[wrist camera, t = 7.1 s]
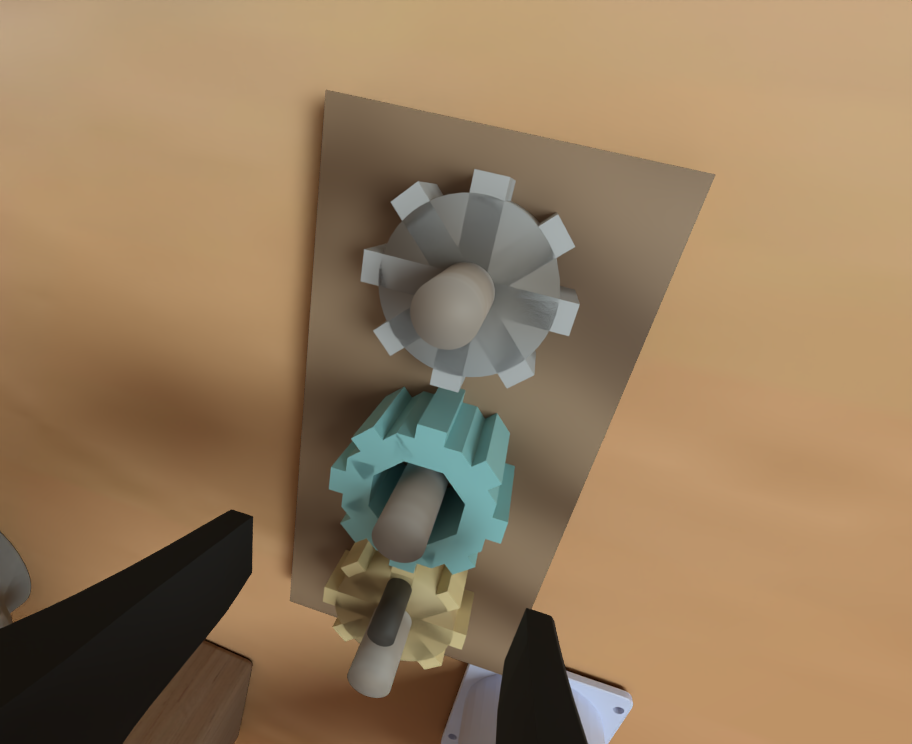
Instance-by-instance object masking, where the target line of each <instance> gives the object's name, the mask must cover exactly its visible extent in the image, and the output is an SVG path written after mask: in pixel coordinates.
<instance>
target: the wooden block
mask: <svg viewBox="0 0 912 744" xmlns="http://www.w3.org/2000/svg"><path fill="white" fill-rule="evenodd" d="M252 665H253V664H252V663H251V662H250V661H249V660H248V659H245V658H243V657H241V656H239V655H236V654H234V653H232V652H230V651H227V650H225V649H223V648H221V647H218V646H216V645H214V644H212V643H209V642H207V641H205V640H204V641H203V642H202V643H201V644H200V646H199V647H198V648H197V649H196V651H195V652H194V653H193V654H192V655H191V657H190V658H189V659H188V660H187V662H186V663H185V664H184V665H183V666H182V668H181V669H180V670H179V671H178V673H177V674H176V675H175V676H174V678H173V679H172V680H171V681H170V682H169V684H168V685H167V686H166V687H165V689H164V690H163V691H162V692H161V694H160V695H159V696H158V697H157V698H156V700H155V701H154V702H153V703H152V705H151V706H150V707H149V708H148V710H147V711H146V712H145V714H144V715H143V716H142V718H141V719H140V720H139V722H138V723H137V724H136V726H135V727H134V728H133V730H132V731H131V732H130V734H129V735H128V737H127V738H126V740H125V741H124V742H123V744H234V742H235V740H236V739H237V737H238V735H239V730H240V725H241V720H242V715H243V710H244V705H245V700H246V695H247V690H248V685H249V680H250V675H251V670H252Z"/></svg>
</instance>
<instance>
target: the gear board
mask: <svg viewBox="0 0 912 744" xmlns="http://www.w3.org/2000/svg"><path fill="white" fill-rule="evenodd" d="M714 177H715V174H711V173H706V172H701V171H697V170H692V169H688V168H683V167H678V166H674V165H669V164H665V163H660V162H655V161H651V160H646V159H642V158H637V157H632V156H628V155H623V154H619V153H614V152H610V151H605V150H600V149H596V148H591V147H587V146H582V145H577V144H573V143H568V142H564V141H559V140H554V139H550V138H545V137H541V136H536V135H532V134H527V133H522V132H518V131H513V130H509V129H504V128H499V127H495V126H490V125H486V124H481V123H476V122H472V121H467V120H463V119H458V118H453V117H449V116H444V115H440V114H435V113H431V112H426V111H421V110H417V109H412V108H408V107H403V106H398V105H394V104H389V103H385V102H380V101H375V100H371V99H366V98H362V97H357V96H352V95H348V94H343V93H339V92H334V91H330V90H326V92H325V106H324V121H323V135H322V149H321V164H320V178H319V192H318V207H317V221H316V235H315V250H314V264H313V278H312V293H311V307H310V321H309V335H308V350H307V364H306V378H305V393H304V407H303V421H302V436H301V450H300V464H299V479H298V493H297V507H296V521H295V536H294V550H293V564H292V579H291V593H290V601H291V602H294V603H297V604H300V605H303V606H305V607H308V608H311V609H314V610H317V611H320V612H323V613H326V614H328V615H331V616H334V617H337V619H336V621H335V623H334V625H333V628H334V629H335V631H336V632H337V633H338V634H339V635H340V636H341V637H342V639H343V640H344V641H348V640H351V639H355V640H356V641H357V642H359V643H360V646H359V648H358V650H357V653H356V655H355V658H354V660H353V662H352V665H351V667H350V669H349V672H348V675H347V678H348V681H349V683H350V685H351V686H352V687H353V688H354V689H355V690H356V691H358V692H359V693H361V694H363V695H365V696H368V697H373V698H381V697H385V696H387V695H388V694H389V692H390V690H391V687H392V684H393V681H394V678H395V674H396V671H397V668H398V665H399V662H400V660H402V661H418V662H419V664H420V665H421V666H422V667H423V668H424V670H425V669H429V668H433V667H438V666H442V662H443V658H444V655H446V656H449V657H451V658H454V659H457V660H460V661H463V662H466V663H469V664H471V665H474V666H477V667H480V668H483V669H486V670H489V671H491V672H494V673H497V674H500V675H502V673H503V667H504V660H505V658H506V655H507V653H508V651H509V648H510V646H511V643H512V641H513V638H514V636H515V634H516V631H517V629H518V626H519V624H520V622H521V619H522V617H523V614H524V612H525V609H526V608H529V609H532V606H533V604H534V602H535V599H536V597H537V594H538V592H539V590H540V587H541V585H542V583H543V580H544V578H545V576H546V573H547V571H548V569H549V566H550V564H551V561H552V559H553V557H554V554H555V552H556V550H557V547H558V545H559V543H560V540H561V538H562V536H563V533H564V531H565V528H566V526H567V524H568V521H569V519H570V517H571V514H572V512H573V510H574V507H575V505H576V502H577V500H578V498H579V495H580V493H581V491H582V488H583V486H584V484H585V481H586V479H587V477H588V474H589V472H590V469H591V467H592V465H593V462H594V460H595V458H596V455H597V453H598V451H599V448H600V446H601V443H602V441H603V439H604V436H605V434H606V432H607V429H608V427H609V425H610V422H611V420H612V418H613V415H614V413H615V410H616V408H617V406H618V403H619V401H620V399H621V396H622V394H623V392H624V389H625V387H626V384H627V382H628V380H629V377H630V375H631V373H632V370H633V368H634V366H635V363H636V361H637V359H638V356H639V354H640V351H641V349H642V347H643V344H644V342H645V340H646V337H647V335H648V333H649V330H650V328H651V326H652V323H653V321H654V318H655V316H656V314H657V311H658V309H659V307H660V304H661V302H662V300H663V297H664V295H665V292H666V290H667V288H668V285H669V283H670V281H671V278H672V276H673V274H674V271H675V269H676V267H677V264H678V262H679V259H680V257H681V255H682V252H683V250H684V248H685V245H686V243H687V241H688V238H689V236H690V233H691V231H692V229H693V226H694V224H695V222H696V219H697V217H698V215H699V212H700V210H701V208H702V205H703V203H704V200H705V198H706V196H707V193H708V191H709V189H710V186H711V184H712V182H713V179H714ZM402 387H405V388H406V390H407V391H408V392H409V394H410V395H411V397H414V396H416V395H418V394H420V393H422V392H423V391H425V392H428V393H432V394H435V393H436V391H437V389H438V388H439V387H440V388H444V389H447V390H451V391H454V392H459V390H460V389H464V390H465V394H464V398H463V403H467V404H470V405H474V406H477V407H478V408H479V410H480V412H481V413H482V415H483V416H484V418H485V419H486V418H488V417H490V416H492V415H494V414H496V413H497V414H498V415H499V417H500V418H501V420H502V421H503V423H504V425H505V426H506V428H507V429H508V431H509V432H510V436H509V443H508V449H507V455H506V461H505V463H506V464H510V465H513V466H515V470H514V478H513V486H512V495H511V503H510V511H509V519H508V524H507V527H506V530H505V533H504V536H503V539H502V542H501V544H500V543H496V542H493V541H490V540H487V539H485V541H484V545H483V548H482V551H481V552H478V555H477V560H476V565H475V567H474V568H471V569H468V570H465V571H462V572H459V573H456V574H453V575H452V573H451V572H450V571H449V569H448V568H447V567H446V565H445V564H443V565H440V566H437V567H434V568H429V567H426V566H423V565H420V564H417V565H416V568H415V571H414V573H410V572H407V571H404V570H401V569H398V568H395V567H392V566H389V561H390V560H392V561H395V562H399V563H410V562H414V561H416V560H418V559H419V558H421V557H422V555H423V554H424V552H425V549H426V546H427V543H428V540H429V537H430V534H431V532H432V529H433V526H434V523H435V520H436V517H437V514H438V512H439V509H440V506H441V503H442V500H443V497H444V494H445V492H446V489H447V488H449V487H451V486H452V485H451V483H450V482H449V481H448V479H447V478H446V476H445V475H444V474H443V473H441V472H437V471H434V470H431V469H428V468H424V467H421V466H418V465H415V464H411V463H408V462H405V461H404V462H403V463H404V464H405V466H406V468H405V469H404V471H403V473H402V475H401V477H400V479H399V481H398V483H397V484H396V486H395V488H394V490H393V492H392V494H391V496H390V498H389V500H388V501H387V503H386V505H385V507H384V509H383V511H382V513H381V515H380V517H379V518H378V520H377V522H376V524H375V526H374V528H373V530H372V541H373V544H374V546H375V547H376V549H377V550H378V551H377V550H375V548H374V547H373V546H372V545H371V543H370V542H369V541H368V540H367V538H366V539H364V540H361V541H359V542H356V543H355V541H354V540H353V539H352V538H351V536H350V535H349V534H348V533H347V531H346V530H345V529H344V528H343V526H342V525H341V524H340V523H341V521H342V519H343V518H344V516H345V515H346V512H345V510H344V509H343V508H342V507H341V505H342V497H343V493H339V492H336V491H333V490H330V489H329V481H330V472H331V467H332V465H333V464H334V463H335V462H336V460H337V459H338V458H339V457H340V455H341V454H342V453H343V452H344V451H345V449H346V448H347V447H348V446H349V444H350V443H351V442H352V439H351V438H352V437H353V435H354V434H355V433H356V432H357V431H358V429H359V428H360V427H361V426H362V425H363V423H364V422H365V421H366V420H367V418H368V417H369V416H370V415H371V414H372V412H373V411H374V410H375V409H376V408H377V406H378V405H379V404H380V403H381V402H382V400H383V399H384V398H385V397H386V396H388V395H390V394H391V393H393V392H395V391H397V390H399V389H401V388H402Z"/></svg>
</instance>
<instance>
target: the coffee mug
mask: <svg viewBox="0 0 912 744" xmlns="http://www.w3.org/2000/svg"><path fill="white" fill-rule="evenodd" d="M30 591H31V582H30V577H29V574H28V571H27V569H26V566H25V564H24V562H23V561H22V559H21V557H20V555H19V554H18V552H17V551H16V550H15V548H14V547H13V546H12V544H11V543H10V542H9V540H8V539H7V538H6V537H5V536H4V535H3V534H2V533H1V532H0V628H2V627H5V626H7V625H10V624H12V617H11V615H10V613H11V612H12V611H14V610H15V609H16V608H18V607H19V606H20V605H21V604H23V603H24V602H25V601H26V600H27V599H28V597H29V595H30Z"/></svg>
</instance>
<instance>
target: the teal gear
mask: <svg viewBox="0 0 912 744" xmlns="http://www.w3.org/2000/svg"><path fill="white" fill-rule="evenodd" d="M464 394H465V390H464V389H460V390H459V392H454V391H451V390H447V389H444V388H440V387H439V388H438V389H437V391H436V393H435V394H432V393H428V392H425V391H423V392H422V393H420V394H418V395H416V396H414V397H411V395H410V394H409V392H408V391H407V390H406V388H405V387H402V388H401V389H399V390H397V391H395V392H393V393H391V394H390V395H388V396H386V397H385V398H384V399H383V400H382V402H381V403H380V404H379V405H378V406H377V408H376V409H375V410H374V411H373V412H372V414H371V415H370V416H369V417H368V418H367V420H366V421H365V422H364V423H363V425H362V426H361V427H360V428H359V429H358V431H357V432H356V433H355V434H354V435H353V437H352V438H351V439H352V442H351V443H350V444H349V446H348V447H347V448H346V449H345V451H344V452H343V453H342V454H341V455H340V457H339V458H338V459H337V460H336V462H335V463H334V464H333V465H332V467H331V472H330V481H329V489H330V490H333V491H336V492H339V493H343V497H342V505H341V507H342V508H343V509H344V510H345V512H346V515H345V516H344V518H343V519H342V521H341V523H340V524H341V525H342V526H343V528H344V529H345V530H346V531H347V533H348V534H349V535H350V536H351V538H352V539H353V540H354V541H355V543H356V542H359V541H361V540H364V539H366V538H367V540H368V541H369V542H370V543H371V545H372V546H373V547H374V548H375V550H377V549H376V547H375V546H374V544H373V541H372V530H373V528H374V526H375V524H376V522H377V520H378V518H379V517H380V515H381V513H382V511H383V509H384V507H385V505H386V503H387V501H388V500H389V498H390V496H391V494H392V492H393V490H394V488H395V486H396V484H397V483H398V481H399V479H400V477H401V475H402V473H403V471H404V469H405V468H406V466H405V464H404V463H403V462H404V461H405V462H408V463H411V464H415V465H418V466H421V467H424V468H428V469H431V470H434V471H437V472H441V473H443V474H444V475H445V476H446V478H447V479H448V481H449V482H450V483H451V485H452V486H451V487H449V488H447V489H446V492H445V494H444V497H443V500H442V503H441V506H440V509H439V512H438V514H437V517H436V520H435V523H434V526H433V529H432V532H431V534H430V537H429V540H428V543H427V546H426V549H425V552H424V554H423V555H422V557H421V558H419V559H418V560H416V561H414V562H410V563H399V562H395V561H392V560H390V561H389V566H392V567H395V568H398V569H401V570H404V571H407V572H410V573H414V571H415V568H416V565H417V564H420V565H423V566H426V567H429V568H434V567H437V566H440V565H443V564H445V565H446V567H447V568H448V569H449V571H450V572H451V573H452V575H453V574H456V573H459V572H462V571H465V570H468V569H471V568H474V567H475V565H476V560H477V555H478V552H481V551H482V548H483V545H484V541H485V539H487V540H490V541H493V542H496V543H500V544H501V542H502V539H503V536H504V533H505V530H506V527H507V524H508V519H509V511H510V503H511V495H512V486H513V478H514V470H515V466H513V465H510V464H506V463H505V461H506V455H507V449H508V443H509V436H510V432H509V431H508V429H507V428H506V426H505V425H504V423H503V421H502V420H501V418H500V417H499V415H498V414H497V413H496V414H494V415H492V416H490V417H488V418H486V419H485V418H484V416H483V415H482V413H481V412H480V410H479V408H478V407H477V406H474V405H470V404H467V403H463V398H464ZM377 551H378V550H377Z"/></svg>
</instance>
